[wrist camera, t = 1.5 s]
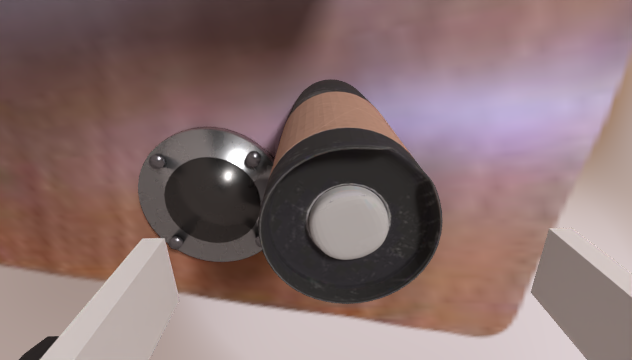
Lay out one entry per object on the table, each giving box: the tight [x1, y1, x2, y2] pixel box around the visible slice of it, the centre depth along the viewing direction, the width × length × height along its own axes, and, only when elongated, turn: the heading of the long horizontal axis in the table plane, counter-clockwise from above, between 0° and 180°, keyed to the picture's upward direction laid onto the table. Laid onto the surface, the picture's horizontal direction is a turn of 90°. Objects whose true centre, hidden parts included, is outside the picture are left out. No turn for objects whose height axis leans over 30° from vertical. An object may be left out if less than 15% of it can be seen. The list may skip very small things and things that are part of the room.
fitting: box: [138, 127, 274, 262], centre depth 32 cm, size 15×22×6 cm
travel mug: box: [258, 80, 442, 304], centre depth 23 cm, size 8×8×20 cm
